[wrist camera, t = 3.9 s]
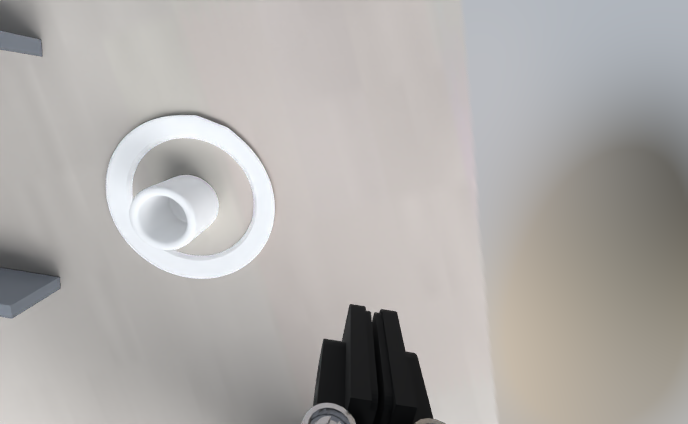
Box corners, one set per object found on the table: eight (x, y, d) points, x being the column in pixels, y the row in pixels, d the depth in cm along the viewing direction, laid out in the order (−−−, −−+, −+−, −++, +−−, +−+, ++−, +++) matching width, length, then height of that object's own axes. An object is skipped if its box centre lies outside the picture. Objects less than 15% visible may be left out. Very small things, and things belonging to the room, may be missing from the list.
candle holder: (215, 81, 22) (184, 75, 18) (306, 231, 25) (298, 255, 21) (78, 167, 24) (22, 179, 20) (178, 297, 27) (147, 331, 23)
